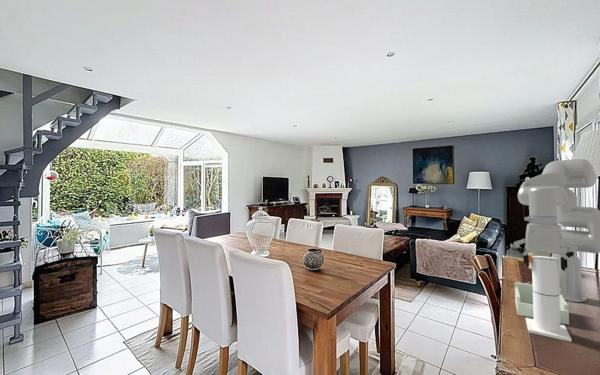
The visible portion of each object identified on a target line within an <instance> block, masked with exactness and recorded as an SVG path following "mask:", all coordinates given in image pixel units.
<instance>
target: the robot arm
mask: <svg viewBox="0 0 600 375" xmlns="http://www.w3.org/2000/svg"><path fill="white" fill-rule="evenodd" d="M596 182H597V175H596V172H595V169H594V166H593V164H592V163H591V162H590V161H589V160H588V159H585V158H577V159H564V160H563V159H562V160H559V159H558V160H553V161H550V162H549V163H547V164H546V165H545V167H544V169H543V171H542V173H541V174H538V175H536V176H534V177H531V178H528V179H527V180H525V181H523V182H522V184H521V185H520V187H519V189H518V192H517V199H518V202H519V203H520V204H522V205H524V206H528V210H529V212H528V213H529V215H528V216H524V217H523V218H524V221H525V222H526V221H527V222H529V223H527V224H526V229H525V238H522V239H520V240H515V241H514V242H513V245H514V246H515V248H516V249H517V251H518V252H519V253H520V254H522V256H523V264H525V266H526V267H528V268H529V256H528V253H530V252H531V251H532V252H541V253H550V254H551V257H552V258H556V259H558V269H559V289H561V295H562V297H563V298H564V300H565V301H567V302H573V303H585V302H587V301H588V297H587V296H585V295H583V291H582V289H583V288H582V287H583V286H582V262H581V260H580V258H579V256H578V255H576V253H577V252H582V253H588V254H589V253H590V254H600V210H599V209H598V208H596V207H591V206H590V207H588V206H578V196H577V194H576V193H575V192H574V191H573V190H572V189H583V188H585V189H587V188H591V187H593V186H595V185H596ZM562 227H564V228H565V227H567V228H577V229H586V230H587V231H586V230H577V229H576V230H575V229H562ZM522 244H525V245H526V249H525V248H524V249H523V248H522V247H521V246H520V245H522Z"/></svg>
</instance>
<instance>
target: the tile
mask: <svg viewBox="0 0 600 375" xmlns="http://www.w3.org/2000/svg"><path fill="white" fill-rule="evenodd" d="M525 323H526V327H527V328H526V329H527V332H528V333H529V334H534V335H538V336H542V337H546V338H552V339H556V340H561V341H566V342H570V343H572V342H573V341H572V337H571V336H570V333H569V331H568V329H567V328H566V324H560V327H561V331H560V332H549V331H545V330H542V329H539V328H537V327H536V326H535V325H534V318H531V317H525Z"/></svg>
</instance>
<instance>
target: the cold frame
mask: <svg viewBox="0 0 600 375" xmlns="http://www.w3.org/2000/svg"><path fill="white" fill-rule="evenodd" d="M514 293H515V294H514V296H515V297H514V298H515V308H516V313H517V315H518V316H521V317H525V318H530V319H534V313H533V285H531V284H524V282H523V283H522V282H515V281H514ZM559 298H560V325H566V324H567V325H568V326H570V313H569V312H570V311H569V305H568V303H567V302H566V300H564V298H563V297H562V295H561V289H559Z"/></svg>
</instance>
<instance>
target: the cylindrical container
mask: <svg viewBox="0 0 600 375" xmlns="http://www.w3.org/2000/svg"><path fill="white" fill-rule="evenodd" d="M531 276H532V278H531V279H532V280H531V281H532V282H531V283H533V313H534V318H533V319H534V325H535V326H536V327H537V328H539V329H542V330H545V331H549V332H560V331H561V327H560V325H561V323H560V298H559V269H558V259H556V258H552V256H551V257H546V256H532V270H531Z"/></svg>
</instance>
